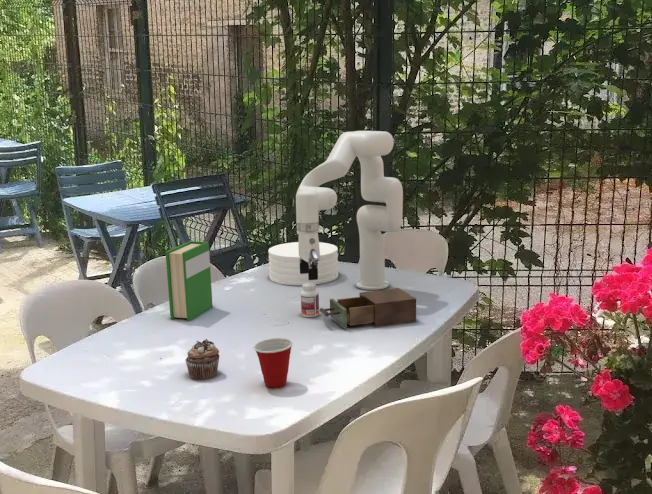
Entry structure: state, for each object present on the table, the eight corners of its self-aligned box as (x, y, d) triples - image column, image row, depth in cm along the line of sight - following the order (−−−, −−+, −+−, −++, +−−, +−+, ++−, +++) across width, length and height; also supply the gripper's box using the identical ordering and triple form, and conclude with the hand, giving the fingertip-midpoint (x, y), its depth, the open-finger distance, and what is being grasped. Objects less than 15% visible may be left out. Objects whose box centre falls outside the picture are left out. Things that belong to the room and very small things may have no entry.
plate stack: (258, 282, 342) (256, 254, 339) (285, 266, 367) (284, 240, 364) (323, 287, 331) (323, 258, 328) (347, 270, 356) (347, 243, 353)
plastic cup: (254, 378, 240) (252, 337, 237) (292, 376, 241) (291, 335, 238) (255, 393, 230) (253, 350, 227) (295, 390, 231) (294, 348, 227)
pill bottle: (311, 311, 301) (310, 281, 298) (322, 315, 297) (322, 284, 294) (297, 315, 298) (296, 284, 295) (309, 318, 293) (308, 287, 290)
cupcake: (206, 366, 251) (203, 333, 248) (227, 374, 244) (225, 340, 242) (179, 375, 245) (177, 341, 242) (200, 383, 238) (198, 349, 235)
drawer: (329, 329, 278) (328, 311, 276) (316, 318, 290) (315, 300, 288) (381, 323, 283) (381, 304, 281) (367, 312, 295) (366, 294, 294)
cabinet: (375, 327, 282) (375, 303, 280) (359, 315, 295) (359, 292, 293) (416, 322, 286) (416, 298, 284) (398, 310, 299) (398, 288, 297)
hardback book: (189, 320, 295) (184, 252, 288) (170, 319, 297) (165, 251, 291) (212, 306, 311) (208, 242, 304) (194, 305, 313) (190, 241, 307)
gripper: (326, 230, 282) (327, 281, 286) (310, 222, 298) (311, 270, 302) (304, 232, 280) (305, 283, 284) (289, 223, 296) (291, 272, 300)
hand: (308, 276), depth 293 cm, fingers open, 9 cm apart
